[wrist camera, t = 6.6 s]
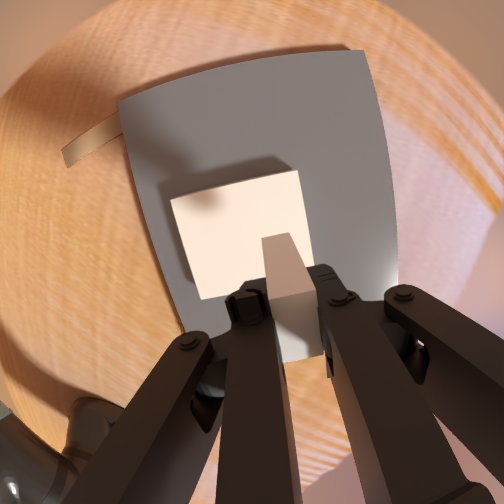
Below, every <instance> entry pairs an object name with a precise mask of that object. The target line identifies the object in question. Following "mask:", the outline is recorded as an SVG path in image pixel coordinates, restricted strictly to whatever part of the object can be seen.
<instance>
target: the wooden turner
mask: <svg viewBox="0 0 504 504" xmlns="http://www.w3.org/2000/svg"><path fill="white" fill-rule="evenodd" d="M122 133H123V131H122V126H121V121H120V116H119V111H117V112H116V113H114V114H113V115H111V116H109V117H108V118H106V119H105V120H103V121H101V122H100V123H98V124H97V125H95V126H94V127H92V128H91V129H89V130H88V131H87V132H85V133H84V134H82V135H81V136H79V137H78V138H77V139H75V140H74V141H73V142H71V143H70V144H68V145H67V146H66V147H65V148H63V149H62V150H61V151H62V154H63V157H64V160H65V163H66V166H67V168H69V167H71V166H72V165H73V164H75V163H76V162H78V161H79V160H81V159H82V158H83V157H85V156H86V155H88V154H89V153H91V152H92V151H94V150H96V149H97V148H99V147H100V146H102V145H103V144H105V143H107V142H108V141H110V140H112V139H113V138H115V137H117V136H118V135H120V134H122Z"/></svg>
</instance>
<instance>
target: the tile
mask: <svg viewBox="0 0 504 504" xmlns="http://www.w3.org/2000/svg"><path fill="white" fill-rule="evenodd" d="M170 201H171V205H172V208H173V212H174V216H175V219H176V222H177V226H178V229H179V233H180V236H181V239H182V243H183V246H184V249H185V252H186V255H187V259H188V262H189V265H190V268H191V271H192V274H193V277H194V280H195V283H196V286H197V289H198V292H199V295H200V298H201V300H203V299H209V298H214V297H219V296H224V295H230V294H231V293H233V292H235V291H237V290H239V289H240V287H241V285H242V284H243V283H244V282H245V281H249V280H253V279H258V278H263V277H266V275H265V267H264V258H263V250H262V242H261V238H263V237H268V236H273V235H277V234H282V233H287V232H289V233H290V235H291V237H292V239H293V241H294V243H295V246H296V248H297V250H298V252H299V254H300V256H301V258H302V260H303V262H304V265H305V267H310V266H314V260H313V254H312V247H311V241H310V235H309V229H308V223H307V218H306V212H305V207H304V201H303V196H302V191H301V185H300V180H299V175H298V171H297V170H295V169H292V170H287V171H282V172H277V173H272V174H267V175H263V176H258V177H253V178H249V179H245V180H240V181H236V182H232V183H227V184H223V185H219V186H215V187H211V188H207V189H203V190H199V191H196V192H192V193H188V194H184V195H181V196H177V197H175V198H173V199H171V200H170Z"/></svg>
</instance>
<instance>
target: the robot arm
mask: <svg viewBox="0 0 504 504" xmlns="http://www.w3.org/2000/svg"><path fill="white" fill-rule="evenodd" d="M261 242H262V250H263V258H264V267H265V275H266V277H263V278H258V279H253V280H249V281H245V282H244V283H243V284H242V285H241V287H240V289H239V290H237V291H235V292H233V293H231V294H230V295H229V296H227V297H226V299H225V301H224V302H225V305H226V308H227V311H228V314H229V317H230V321H231V329H230V330H229V331H227V332H225V333H223V334H221V335H219V336H216V337H213V338H209V336H208V334H207V333H205V332H204V331H198V330H196V331H189V332H186V333H183V334H182V335H180V336H178V337H176V338H175V339H174V340H173V341H172V343H171V344H170V345H169V347H168V348H167V350H166V351H165V352H164V354H163V355H162V357H161V358H160V359H159V361H158V362H157V364H156V365H155V367H154V368H153V369H152V371H151V372H150V374H149V375H148V377H147V378H146V379H145V381H144V382H143V384H142V385H141V387H140V388H139V389H138V391H137V392H136V394H135V395H134V397H133V398H132V399H131V401H130V402H129V404H128V405H127V407H126V408H125V409H122V408H120V407H118V406H116V405H113V404H111V403H108V402H105V401H102V400H98V399H93V398H81V399H78V400H76V401H75V402H74V404H73V406H72V408H71V410H70V412H69V417H68V420H69V424H68V429H67V437H66V444H65V447H64V449H63V451H62V453H61V454H60V453H59V452H57V451H56V450H55V449H54V448H52V447H51V446H50V445H48V444H47V443H46V442H45V441H44V440H42V439H41V438H40V437H39V436H38V435H36V434H35V433H34V432H33V431H32V430H31V429H30V428H28V427H27V426H26V425H25V424H24V423H23V422H22V421H21V420H20V419H19V418H18V417H17V416H15V415H14V413H13V411H12V410H11V409H10V408H8V407H7V406H6V405H5V404H4V403H3V402H1V401H0V504H189V502H190V500H191V497H192V495H193V493H194V490H195V488H196V486H197V483H198V481H199V478H200V476H201V474H202V471H203V469H204V466H205V464H206V462H207V459H208V457H209V454H210V452H211V449H212V447H213V444H214V442H215V439H216V437H217V434H218V432H219V429H220V427H221V437H220V449H219V461H218V474H217V486H216V500H215V504H303V501H302V493H301V485H300V477H299V469H298V461H297V454H296V446H295V439H294V431H293V424H292V417H291V410H290V403H289V396H288V389H287V382H286V375H285V370H284V365H283V363H286V362H291V361H296V360H301V359H306V358H310V357H314V356H319V355H323V354H324V353H323V348H324V351H325V356H326V367H327V378H331V381H332V384H333V387H334V390H335V394H336V397H337V400H338V404H339V407H340V410H341V414H342V417H343V421H344V424H345V427H346V431H347V434H348V438H349V441H350V445H351V449H352V452H353V456H354V459H355V463H356V467H357V471H358V474H359V478H360V482H361V486H362V490H363V494H364V498H365V502H366V504H496V503H495V501H494V499H493V497H492V495H491V493H490V492H489V490H488V488H486V487H485V486H484V485H482V484H481V483H476V482H471V481H469V480H468V479H467V478H466V477H465V475H464V474H463V472H462V469H461V467H460V465H459V463H458V461H457V459H456V457H455V455H454V453H453V451H452V449H451V447H450V445H449V443H448V441H447V439H446V437H445V435H444V433H443V431H442V429H441V427H440V426H439V424H438V422H437V420H436V418H435V416H436V417H437V418H438V419H439V420H440V421H441V422H442V423H443V424H444V425H445V426H446V427H447V428H448V429H449V430H450V431H451V432H452V433H453V434H454V435H455V436H456V437H457V438H458V439H459V440H460V441H461V442H462V443H463V444H464V445H465V446H466V447H467V449H468V450H469V451H470V452H471V453H472V454H473V455H474V456H475V457H476V458H477V459H478V460H479V461H480V462H481V463H482V464H483V465H484V466H485V467H486V468H487V469H488V470H489V472H490V473H491V474H492V475H493V476H494V477H495V478H496V479H497V480H498V481H499V482H500V483H501V484H502V485H503V486H504V340H503V339H501V338H500V337H498V336H497V335H495V334H494V333H492V332H491V331H489V330H487V329H486V328H484V327H483V326H481V325H480V324H478V323H476V322H475V321H473V320H471V319H470V318H468V317H466V316H465V315H463V314H462V313H460V312H458V311H457V310H455V309H453V308H452V307H450V306H448V305H447V304H445V303H443V302H442V301H440V300H438V299H437V298H435V297H433V296H431V295H430V294H428V293H426V292H424V291H423V290H421V289H419V288H417V287H415V286H412V285H406V284H402V285H396V286H393V287H391V288H389V289H388V290H386V292H385V293H384V300H379V301H363V300H362V299H361V298H360V296H359V295H358V294H357V293H356V292H354V291H350V290H347V289H346V287H345V286H344V284H343V283H342V281H341V280H340V278H338V275H337V274H336V273H335V271H334V269H333V268H332V267H331V266H329V265H327V264H319V265H315V266H310V267H305V265H304V262H303V260H302V258H301V256H300V254H299V252H298V250H297V248H296V246H295V243H294V241H293V239H292V237H291V235H290V233H289V232H287V233H282V234H277V235H273V236H268V237H263V238H261ZM418 340H419V341H421V342H422V343H423V344H424V346H422V345H420V344H419V343H418ZM433 414H434V415H435V416H434V415H433ZM221 424H222V426H221Z"/></svg>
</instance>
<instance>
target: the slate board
mask: <svg viewBox="0 0 504 504" xmlns="http://www.w3.org/2000/svg"><path fill="white" fill-rule="evenodd" d="M117 106H118V111H119V116H120V121H121V126H122V131H123V136H124V140H125V145H126V149H127V153H128V158H129V162H130V166H131V170H132V174H133V178H134V181H135V185H136V189H137V192H138V196H139V200H140V203H141V207H142V210H143V213H144V217H145V220H146V223H147V227H148V230H149V233H150V236H151V239H152V242H153V245H154V248H155V251H156V254H157V257H158V260H159V263H160V266H161V269H162V272H163V275H164V277H165V280H166V283H167V286H168V288H169V291H170V294H171V296H172V299H173V301H174V304H175V307H176V309H177V312H178V314H179V317H180V319H181V322H182V324H183V326H184V329H185V331H186V332H189V331H196V330H198V331H204V332H205V333H207V334H208V336H209V338H213V337H216V336H219V335H221V334H223V333H225V332H227V331H229V330H230V329H231V321H230V317H229V314H228V311H227V308H226V305H225V302H224V301H225V299H226V297H227V296H229V295H224V296H219V297H214V298H209V299H203V300H201V298H200V295H199V292H198V289H197V286H196V283H195V280H194V277H193V274H192V271H191V268H190V265H189V262H188V259H187V255H186V252H185V249H184V246H183V243H182V239H181V236H180V233H179V229H178V226H177V222H176V219H175V216H174V212H173V208H172V205H171V201H170V200H171V199H173V198H175V197H177V196H181V195H184V194H188V193H192V192H196V191H199V190H203V189H207V188H211V187H215V186H219V185H223V184H227V183H232V182H236V181H240V180H245V179H249V178H253V177H258V176H263V175H267V174H272V173H277V172H282V171H287V170H292V169H295V170H297V171H298V175H299V180H300V185H301V191H302V196H303V201H304V207H305V212H306V218H307V223H308V229H309V235H310V241H311V247H312V254H313V260H314V266H315V265H319V264H327V265H329V266H331V267H332V268H333V269H334V271H335V273H336V274H337V275H338V278H340V280H341V281H342V283H343V284H344V286H345V287H346V289H347V290H350V291H354V292H356V293H357V294H358V295H359V296H360V298H361V299H362V300H363V301H379V300H384V293H385V292H386V290H388V289H389V288H391V287H393V286H396V285H398V244H397V225H396V211H395V200H394V190H393V182H392V174H391V166H390V160H389V153H388V147H387V142H386V136H385V131H384V126H383V121H382V116H381V112H380V107H379V103H378V99H377V95H376V91H375V87H374V84H373V80H372V76H371V73H370V69H369V66H368V63H367V60H366V56H365V53H364V50H337V51H318V52H306V53H296V54H287V55H280V56H273V57H266V58H260V59H255V60H249V61H244V62H239V63H235V64H230V65H226V66H221V67H217V68H213V69H210V70H206V71H202V72H198V73H195V74H192V75H188V76H185V77H182V78H178V79H175V80H172V81H169V82H166V83H163V84H161V85H158V86H155V87H152V88H150V89H147V90H144V91H142V92H139V93H137V94H134V95H132V96H129V97H127V98H125V99H122V100H120V101H118V102H117ZM323 350H324V348H323Z"/></svg>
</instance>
